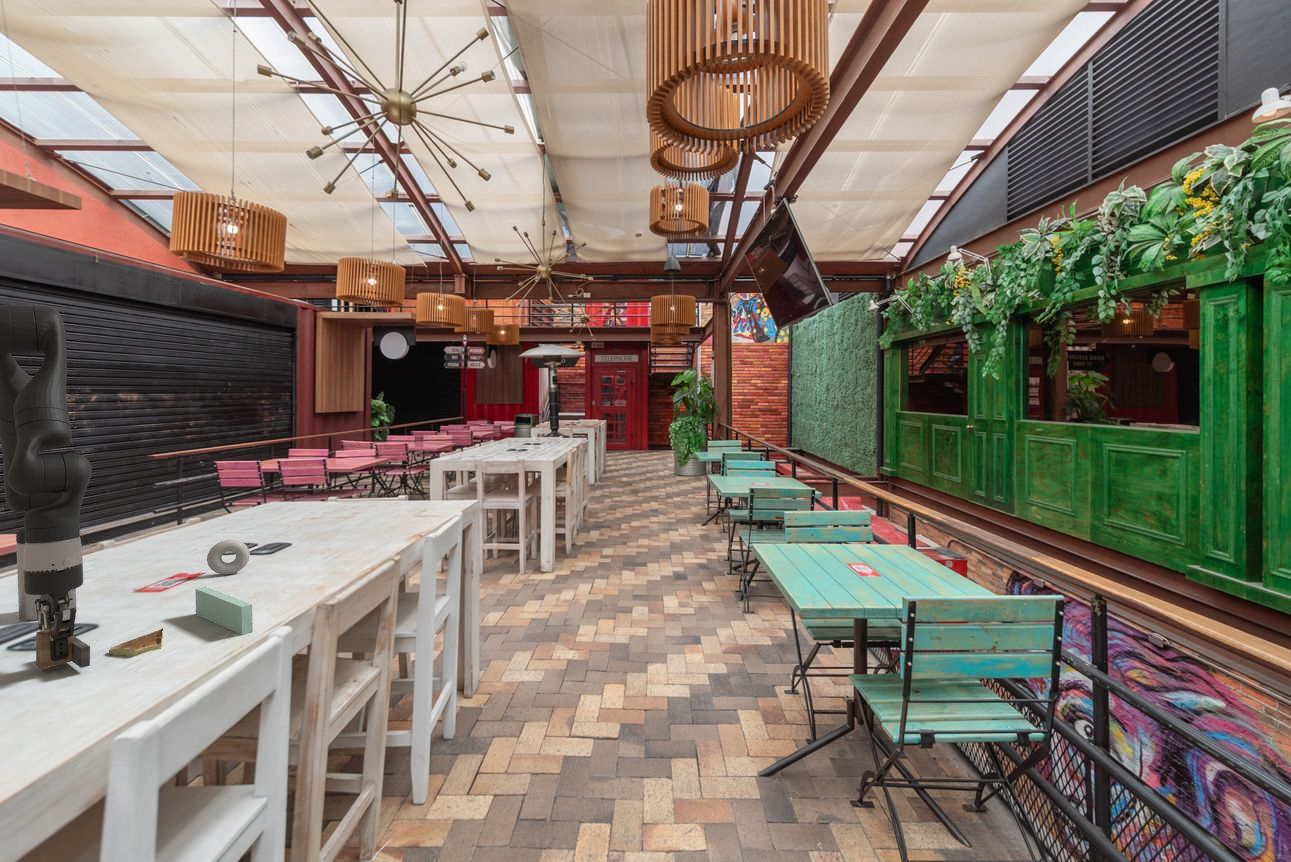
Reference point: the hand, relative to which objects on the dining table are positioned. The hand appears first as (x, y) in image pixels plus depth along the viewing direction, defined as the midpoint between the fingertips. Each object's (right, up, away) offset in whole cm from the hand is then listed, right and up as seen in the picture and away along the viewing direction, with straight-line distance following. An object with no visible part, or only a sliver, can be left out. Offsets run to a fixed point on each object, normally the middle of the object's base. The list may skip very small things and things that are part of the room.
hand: (56, 656), depth 105 cm
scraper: (0, -1, 0) cm, 1 cm away
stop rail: (+14, -1, +23) cm, 27 cm away
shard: (+6, -3, +10) cm, 12 cm away
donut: (-11, 0, +59) cm, 60 cm away
